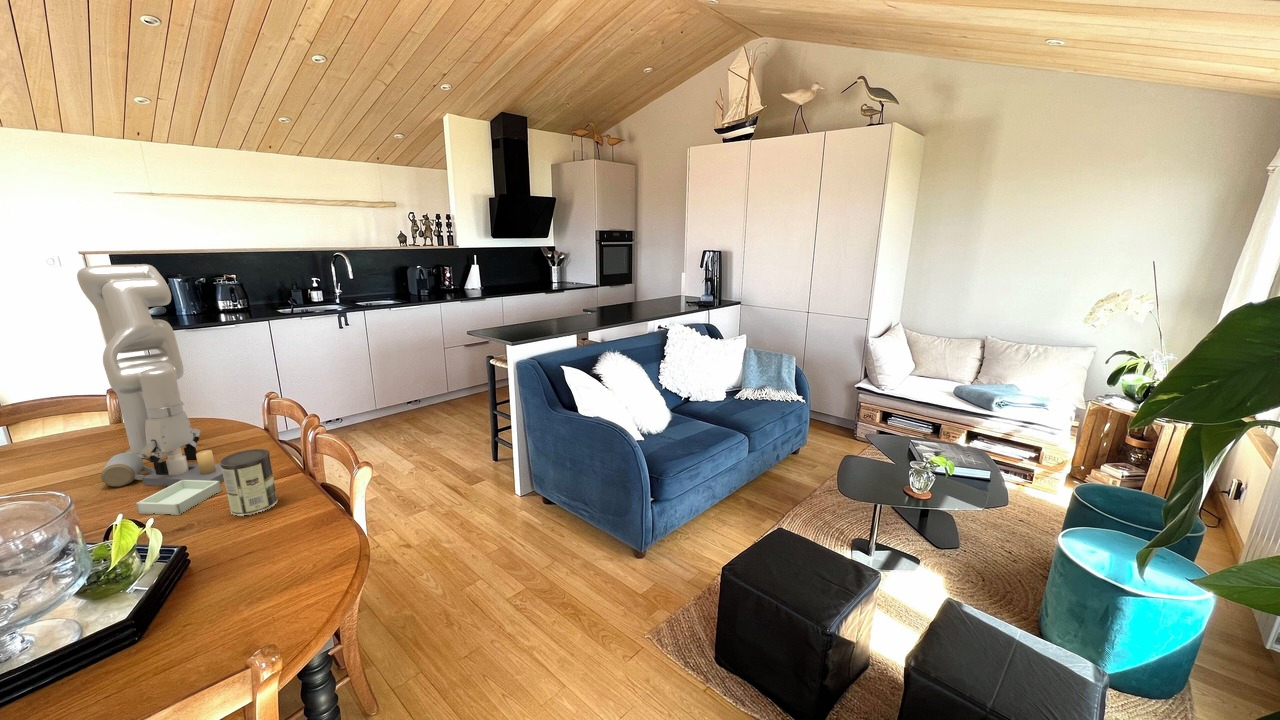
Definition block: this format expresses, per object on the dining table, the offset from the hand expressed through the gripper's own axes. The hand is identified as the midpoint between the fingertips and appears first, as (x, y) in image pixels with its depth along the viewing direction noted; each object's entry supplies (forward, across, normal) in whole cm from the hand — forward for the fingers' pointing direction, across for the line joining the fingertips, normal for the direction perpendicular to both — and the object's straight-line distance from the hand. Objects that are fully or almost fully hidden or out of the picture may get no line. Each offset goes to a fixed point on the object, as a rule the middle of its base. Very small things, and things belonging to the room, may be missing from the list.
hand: (177, 467), depth 151 cm
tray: (+4, +13, +13) cm, 19 cm away
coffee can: (+4, +14, +34) cm, 37 cm away
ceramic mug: (+4, +2, -12) cm, 13 cm away
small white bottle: (+4, 0, 0) cm, 4 cm away
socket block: (+3, 0, +4) cm, 5 cm away
